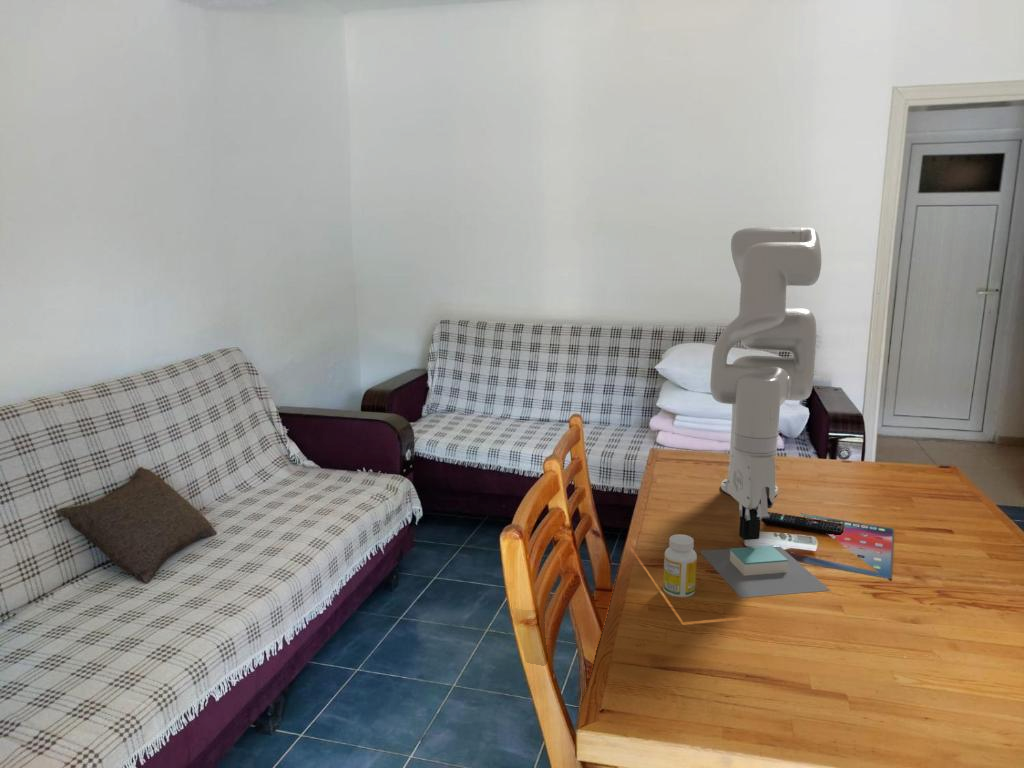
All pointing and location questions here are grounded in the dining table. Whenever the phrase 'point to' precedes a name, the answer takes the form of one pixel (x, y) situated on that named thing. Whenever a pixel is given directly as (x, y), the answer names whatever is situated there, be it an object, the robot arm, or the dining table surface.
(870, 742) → the dining table surface
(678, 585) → the supplement bottle
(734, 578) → the mat
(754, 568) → the tile
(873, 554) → the tablet
